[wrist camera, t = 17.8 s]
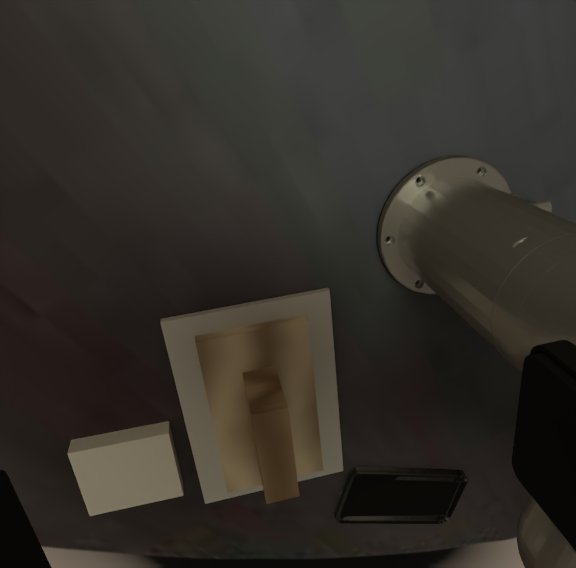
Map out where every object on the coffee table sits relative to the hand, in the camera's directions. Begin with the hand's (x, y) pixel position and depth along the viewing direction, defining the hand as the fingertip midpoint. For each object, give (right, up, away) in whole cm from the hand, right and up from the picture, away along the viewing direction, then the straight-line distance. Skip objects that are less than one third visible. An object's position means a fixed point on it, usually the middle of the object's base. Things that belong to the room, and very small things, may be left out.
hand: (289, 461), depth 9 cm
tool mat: (-3, -8, +41) cm, 42 cm away
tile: (-16, -11, +38) cm, 43 cm away
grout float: (-2, -9, +40) cm, 41 cm away
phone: (+13, -21, +51) cm, 57 cm away
